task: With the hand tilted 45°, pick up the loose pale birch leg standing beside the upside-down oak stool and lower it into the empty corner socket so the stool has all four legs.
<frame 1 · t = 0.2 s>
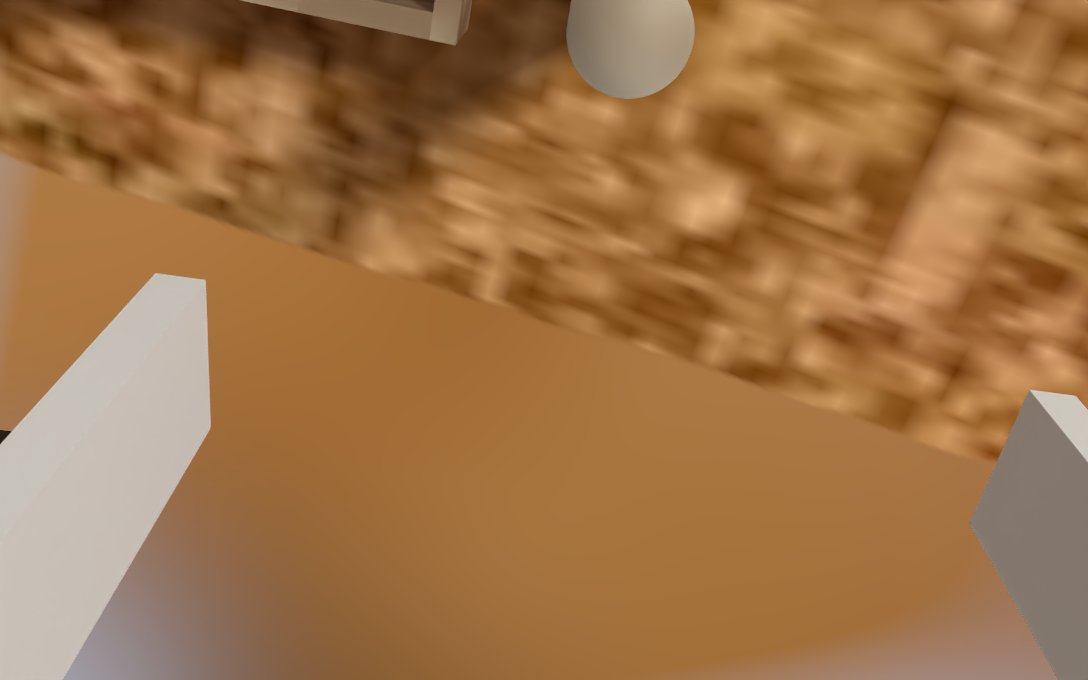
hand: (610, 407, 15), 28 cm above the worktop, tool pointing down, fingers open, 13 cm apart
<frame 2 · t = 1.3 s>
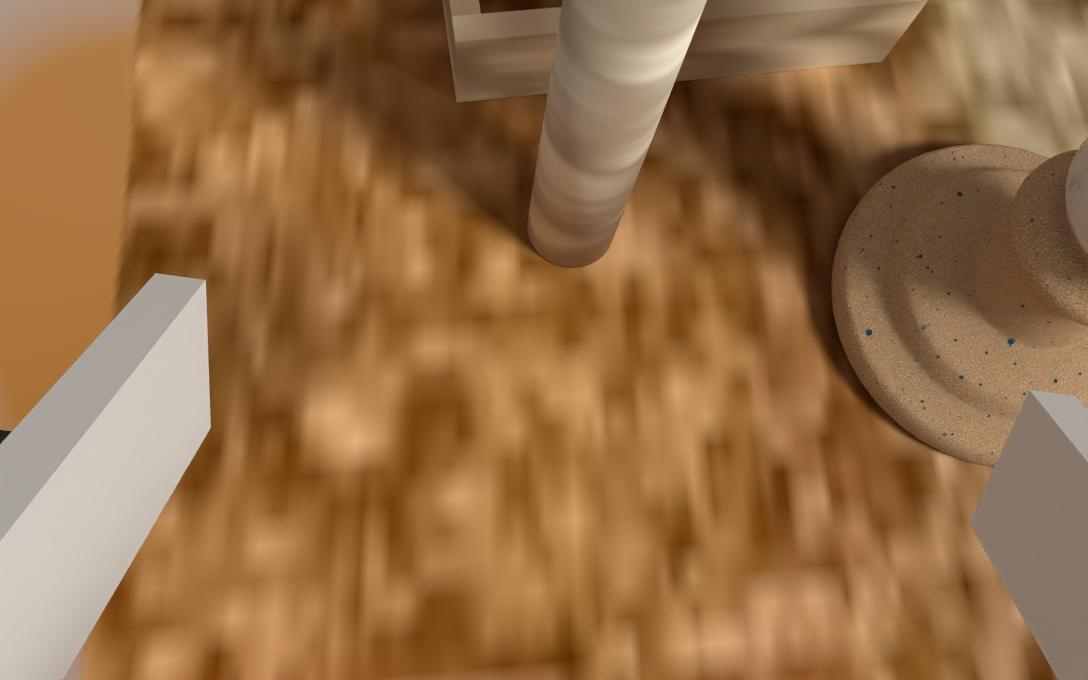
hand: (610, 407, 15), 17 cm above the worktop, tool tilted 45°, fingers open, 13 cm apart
candle holder: (985, 308, 36), on the worktop
stool leg: (570, 226, 35), on the worktop
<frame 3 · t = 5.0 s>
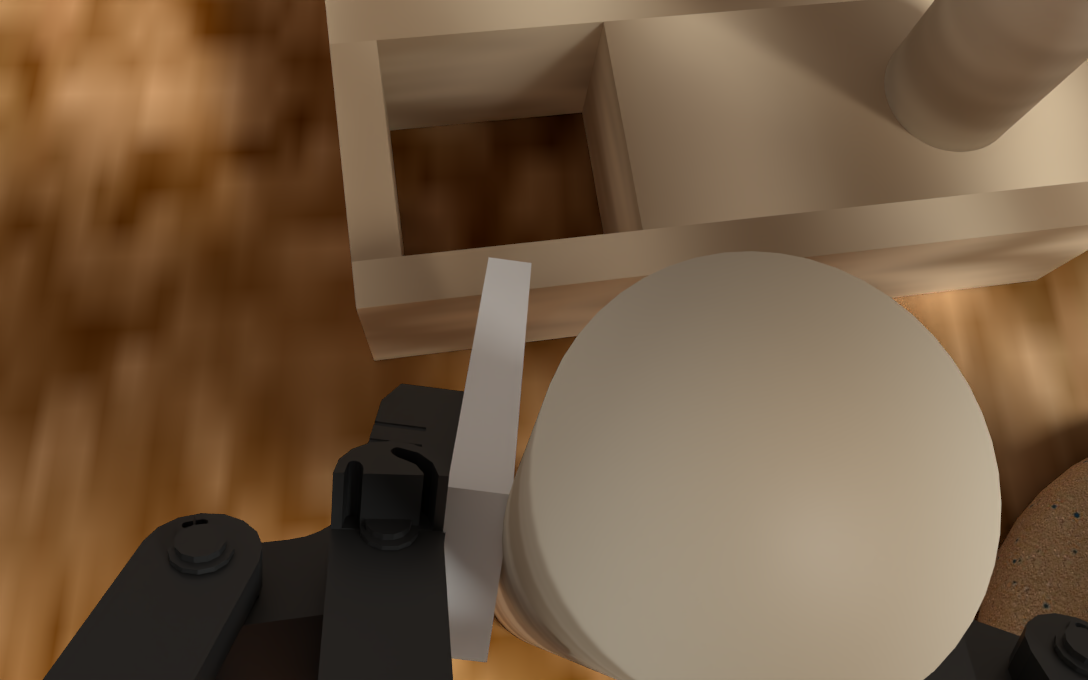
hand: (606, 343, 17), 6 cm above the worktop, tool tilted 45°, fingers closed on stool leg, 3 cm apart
stool: (657, 22, 26), on the worktop
stool leg: (553, 574, 22), on the worktop, touching gripper
when the fingers open (8 cm above the worktop, at t = 10.2 s): stool leg drops 2 cm, resting in stool.
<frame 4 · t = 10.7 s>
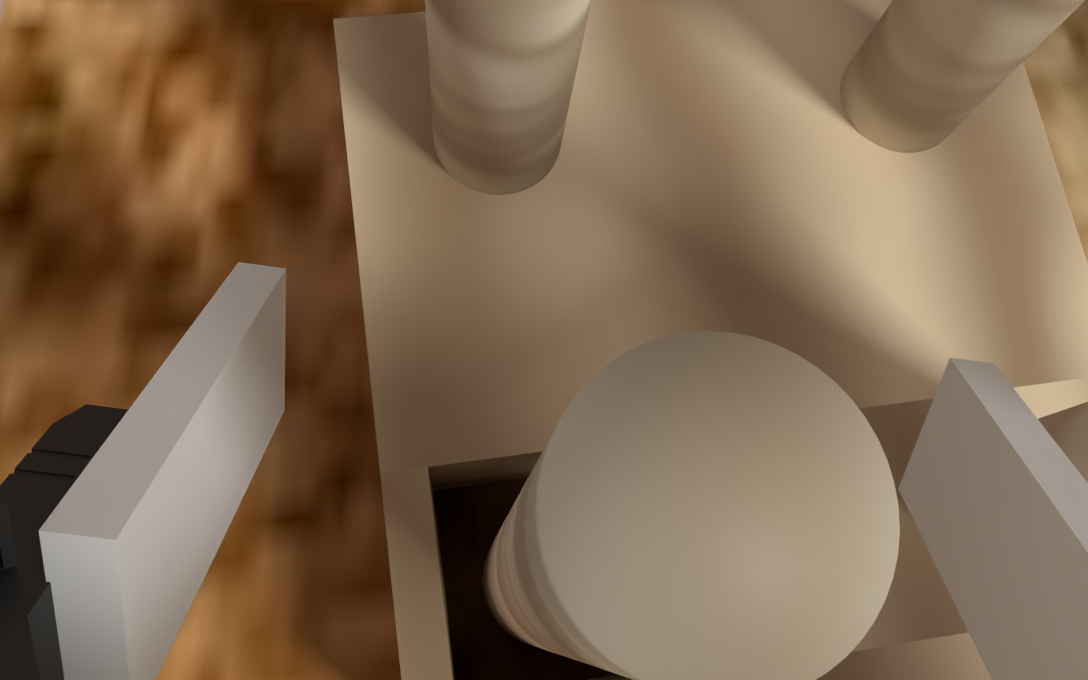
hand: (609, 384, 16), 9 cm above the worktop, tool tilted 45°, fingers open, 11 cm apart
stool: (703, 358, 26), on the worktop
stool leg: (546, 579, 24), resting in stool
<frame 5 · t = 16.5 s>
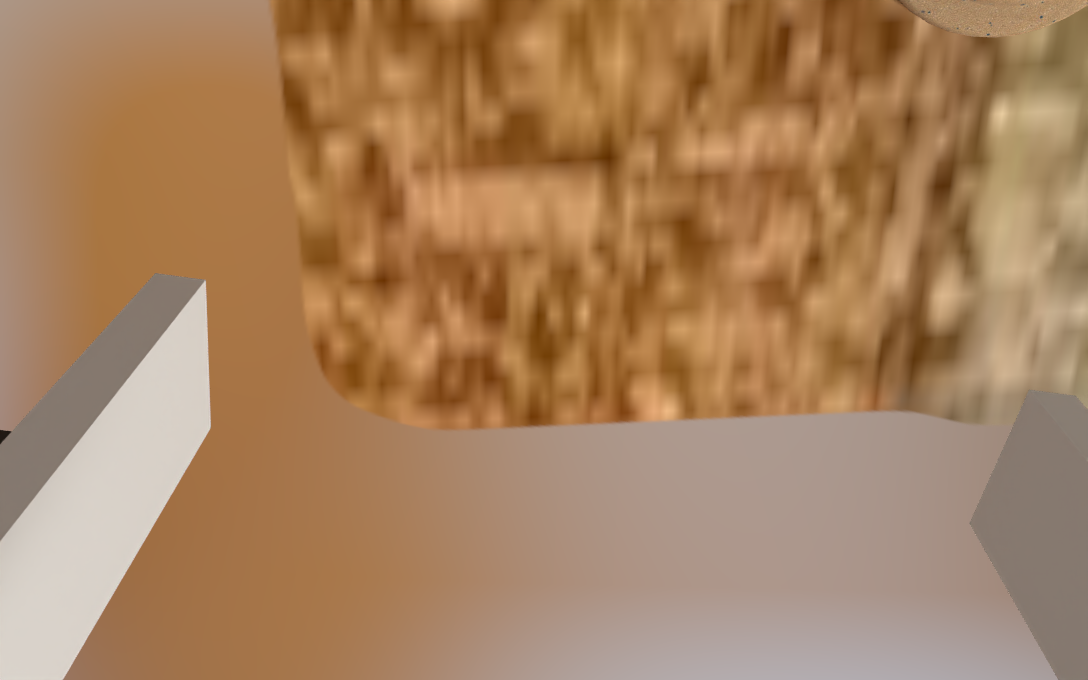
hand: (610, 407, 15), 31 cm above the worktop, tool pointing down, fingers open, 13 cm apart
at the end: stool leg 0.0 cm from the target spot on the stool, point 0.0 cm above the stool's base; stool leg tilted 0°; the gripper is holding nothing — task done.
